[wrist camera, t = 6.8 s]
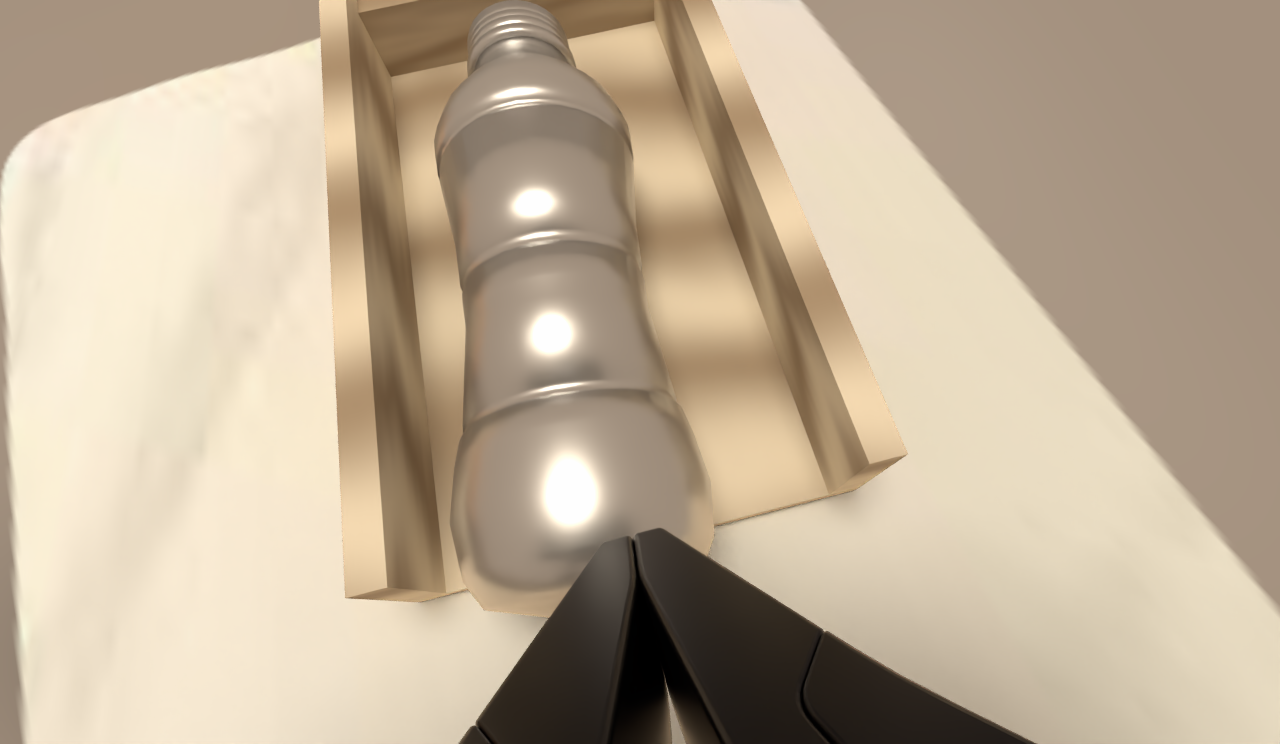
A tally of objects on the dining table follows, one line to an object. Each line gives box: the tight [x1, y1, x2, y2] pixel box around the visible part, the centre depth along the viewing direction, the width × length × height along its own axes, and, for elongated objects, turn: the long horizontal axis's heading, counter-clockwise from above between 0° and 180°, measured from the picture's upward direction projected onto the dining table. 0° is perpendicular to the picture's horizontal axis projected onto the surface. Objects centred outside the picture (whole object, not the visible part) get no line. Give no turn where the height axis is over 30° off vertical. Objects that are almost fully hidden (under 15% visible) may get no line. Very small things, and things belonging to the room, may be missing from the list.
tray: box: [319, 0, 908, 602], centre depth 21 cm, size 23×14×4 cm, turn 14°
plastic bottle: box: [434, 0, 714, 618], centre depth 18 cm, size 6×7×20 cm
